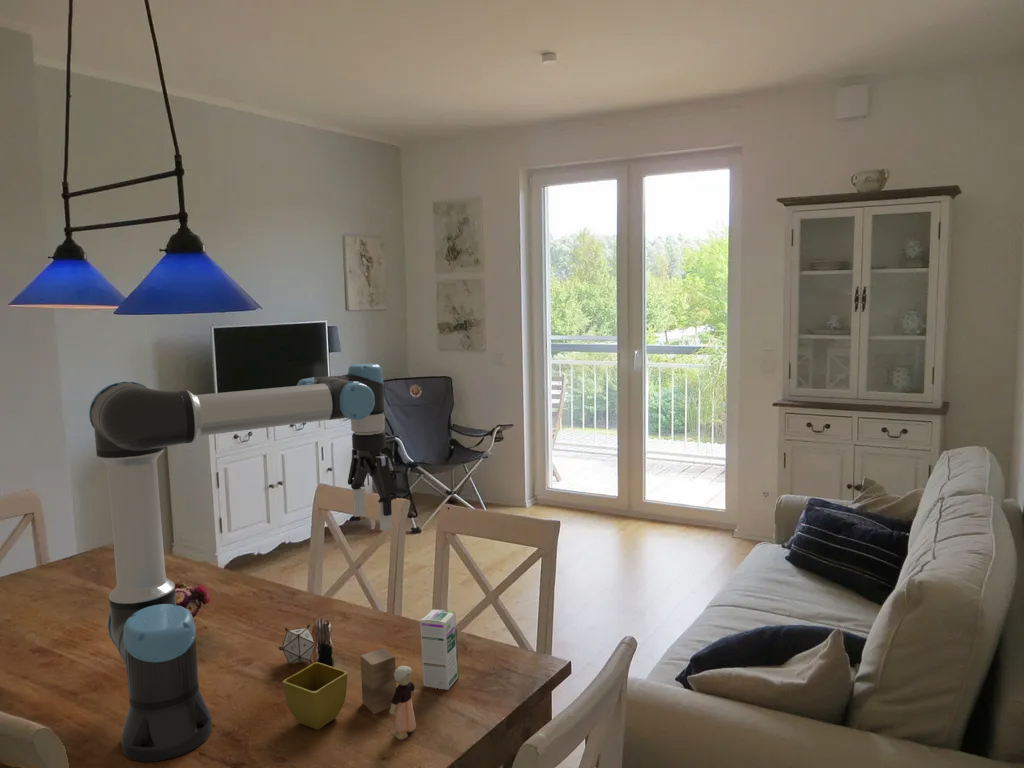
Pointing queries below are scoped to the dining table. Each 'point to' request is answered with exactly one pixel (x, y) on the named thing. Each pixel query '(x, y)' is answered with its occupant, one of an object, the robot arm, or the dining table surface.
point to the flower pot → (316, 694)
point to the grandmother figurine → (403, 703)
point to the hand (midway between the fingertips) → (372, 522)
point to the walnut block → (378, 680)
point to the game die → (298, 645)
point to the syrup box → (439, 649)
